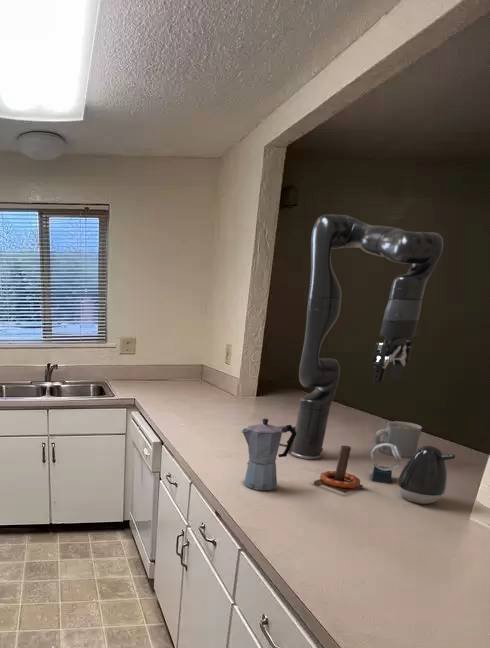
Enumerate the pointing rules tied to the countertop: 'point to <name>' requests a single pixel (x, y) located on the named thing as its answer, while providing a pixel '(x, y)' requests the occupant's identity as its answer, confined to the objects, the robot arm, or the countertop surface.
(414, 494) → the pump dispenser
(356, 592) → the countertop surface
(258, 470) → the moka pot
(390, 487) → the countertop surface
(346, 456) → the stand
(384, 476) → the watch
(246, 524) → the countertop surface
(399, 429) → the coffee mug
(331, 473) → the ring
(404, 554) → the countertop surface
